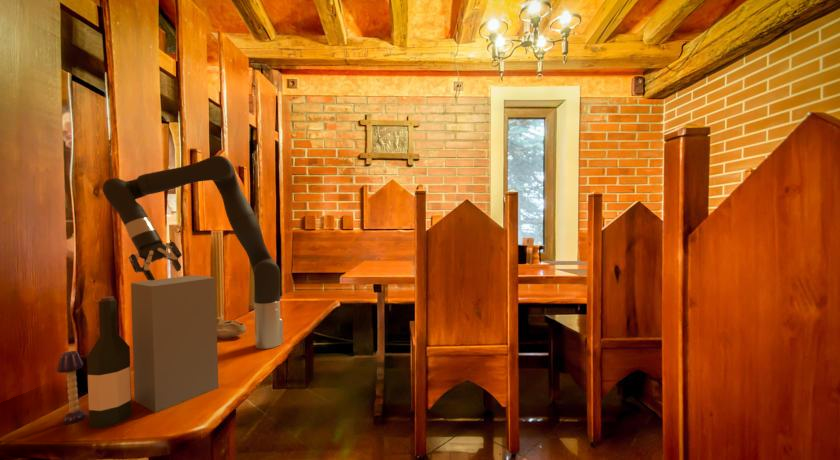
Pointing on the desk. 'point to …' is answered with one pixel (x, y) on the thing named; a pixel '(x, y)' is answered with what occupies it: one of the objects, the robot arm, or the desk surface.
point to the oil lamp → (229, 328)
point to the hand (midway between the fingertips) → (166, 275)
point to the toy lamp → (71, 384)
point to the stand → (174, 340)
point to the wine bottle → (109, 372)
